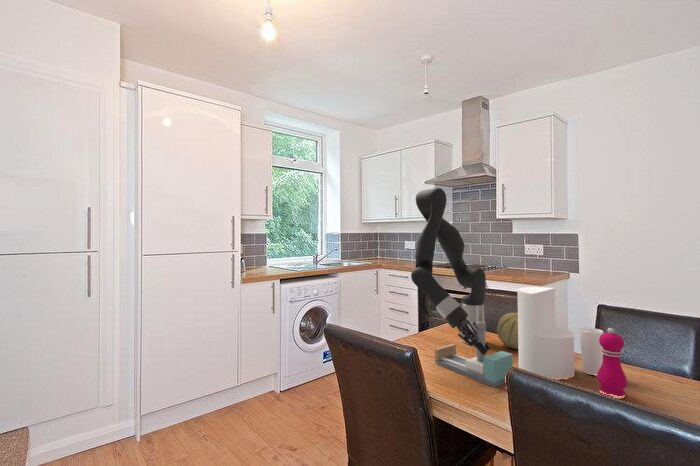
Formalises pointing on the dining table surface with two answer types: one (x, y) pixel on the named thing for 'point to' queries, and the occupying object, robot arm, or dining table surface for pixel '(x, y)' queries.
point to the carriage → (477, 361)
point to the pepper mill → (611, 364)
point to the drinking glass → (591, 349)
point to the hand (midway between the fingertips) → (487, 351)
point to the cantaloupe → (508, 330)
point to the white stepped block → (543, 335)
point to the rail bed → (492, 375)
